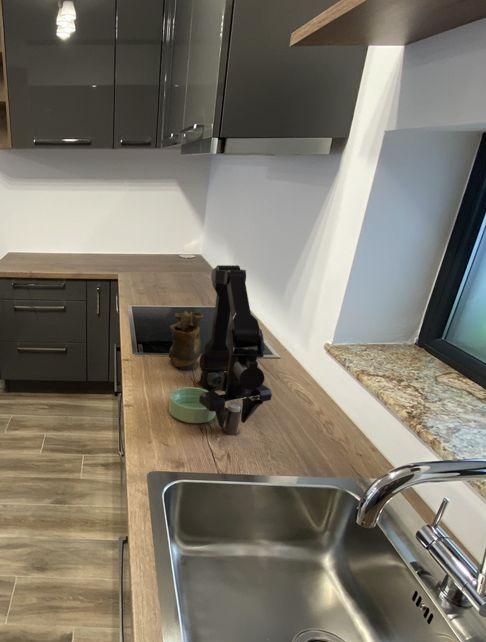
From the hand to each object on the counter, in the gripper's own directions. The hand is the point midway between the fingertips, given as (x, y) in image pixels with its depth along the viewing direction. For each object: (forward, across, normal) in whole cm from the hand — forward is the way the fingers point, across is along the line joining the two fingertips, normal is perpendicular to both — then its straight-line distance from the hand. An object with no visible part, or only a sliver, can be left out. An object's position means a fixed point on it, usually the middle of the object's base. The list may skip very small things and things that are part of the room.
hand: (231, 424), depth 119 cm
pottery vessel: (+2, -10, -43) cm, 44 cm away
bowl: (+2, +5, -12) cm, 13 cm away
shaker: (+2, 0, 0) cm, 2 cm away
